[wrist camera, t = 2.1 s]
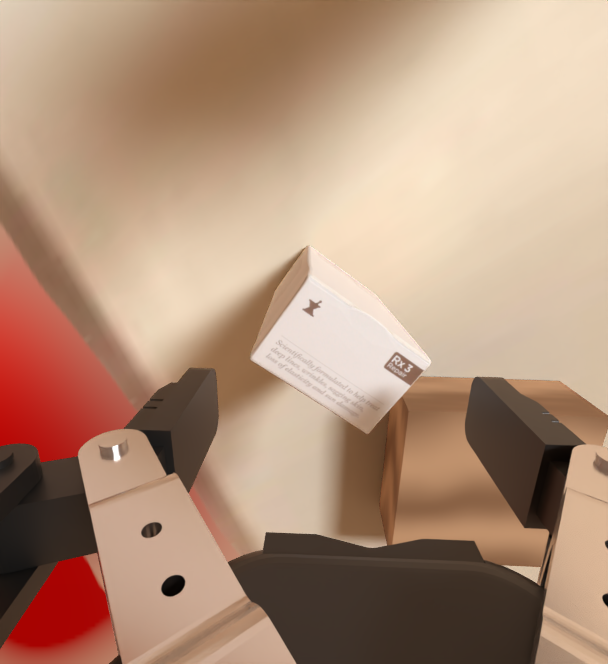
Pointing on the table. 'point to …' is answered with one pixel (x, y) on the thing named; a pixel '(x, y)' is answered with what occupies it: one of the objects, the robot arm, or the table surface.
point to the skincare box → (337, 342)
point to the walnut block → (464, 469)
